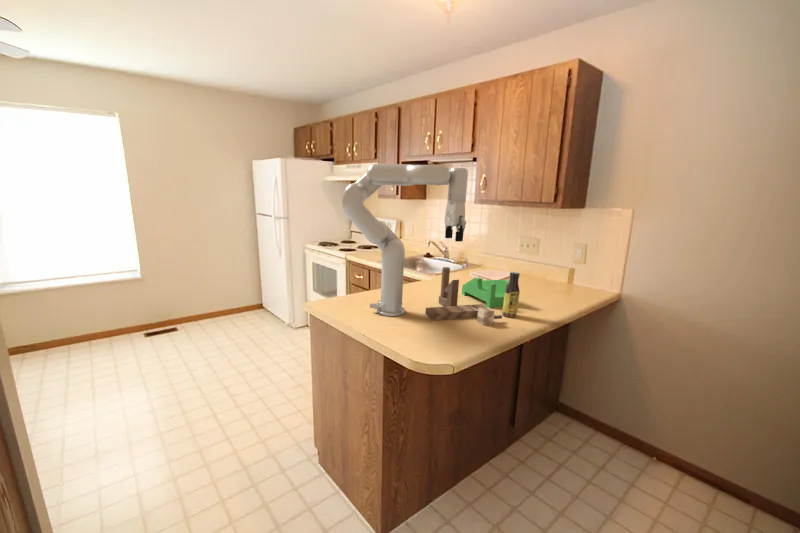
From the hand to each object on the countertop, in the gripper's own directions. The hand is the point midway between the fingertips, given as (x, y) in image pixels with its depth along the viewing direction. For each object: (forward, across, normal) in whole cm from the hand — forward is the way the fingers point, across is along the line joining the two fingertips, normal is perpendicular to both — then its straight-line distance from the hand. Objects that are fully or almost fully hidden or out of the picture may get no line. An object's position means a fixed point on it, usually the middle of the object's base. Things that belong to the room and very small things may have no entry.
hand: (453, 239), depth 150 cm
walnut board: (+33, +2, +4) cm, 34 cm away
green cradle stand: (+34, -17, +29) cm, 48 cm away
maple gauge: (+33, +13, +13) cm, 38 cm away
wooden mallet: (+34, -11, +5) cm, 36 cm away
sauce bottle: (+34, +7, +27) cm, 44 cm away
